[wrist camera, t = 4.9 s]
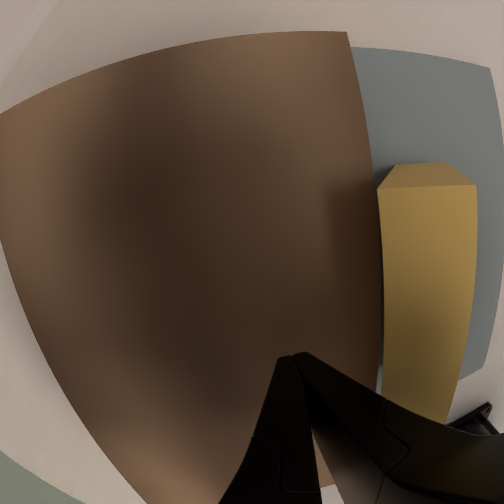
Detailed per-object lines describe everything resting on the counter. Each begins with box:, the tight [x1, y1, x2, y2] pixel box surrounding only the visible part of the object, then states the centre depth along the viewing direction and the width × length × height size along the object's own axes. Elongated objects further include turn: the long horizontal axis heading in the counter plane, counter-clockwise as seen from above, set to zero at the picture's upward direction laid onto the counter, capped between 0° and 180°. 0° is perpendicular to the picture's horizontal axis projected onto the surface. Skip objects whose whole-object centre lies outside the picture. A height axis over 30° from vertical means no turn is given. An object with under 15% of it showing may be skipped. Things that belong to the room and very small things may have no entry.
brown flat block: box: [0, 31, 381, 504], centre depth 10 cm, size 11×18×3 cm, turn 10°
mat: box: [350, 47, 504, 395], centre depth 12 cm, size 10×17×1 cm, turn 10°
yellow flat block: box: [377, 162, 478, 424], centre depth 9 cm, size 6×9×2 cm
